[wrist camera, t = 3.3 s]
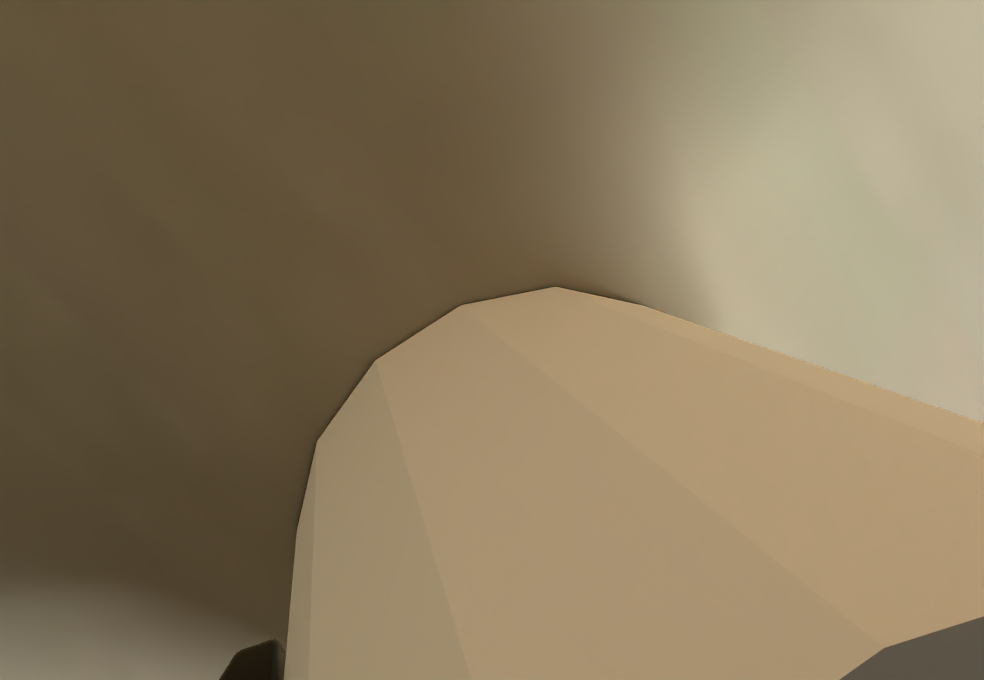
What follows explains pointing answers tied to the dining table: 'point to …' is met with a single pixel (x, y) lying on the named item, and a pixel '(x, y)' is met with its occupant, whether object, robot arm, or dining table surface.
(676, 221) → the dining table surface
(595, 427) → the cream and grey cup
